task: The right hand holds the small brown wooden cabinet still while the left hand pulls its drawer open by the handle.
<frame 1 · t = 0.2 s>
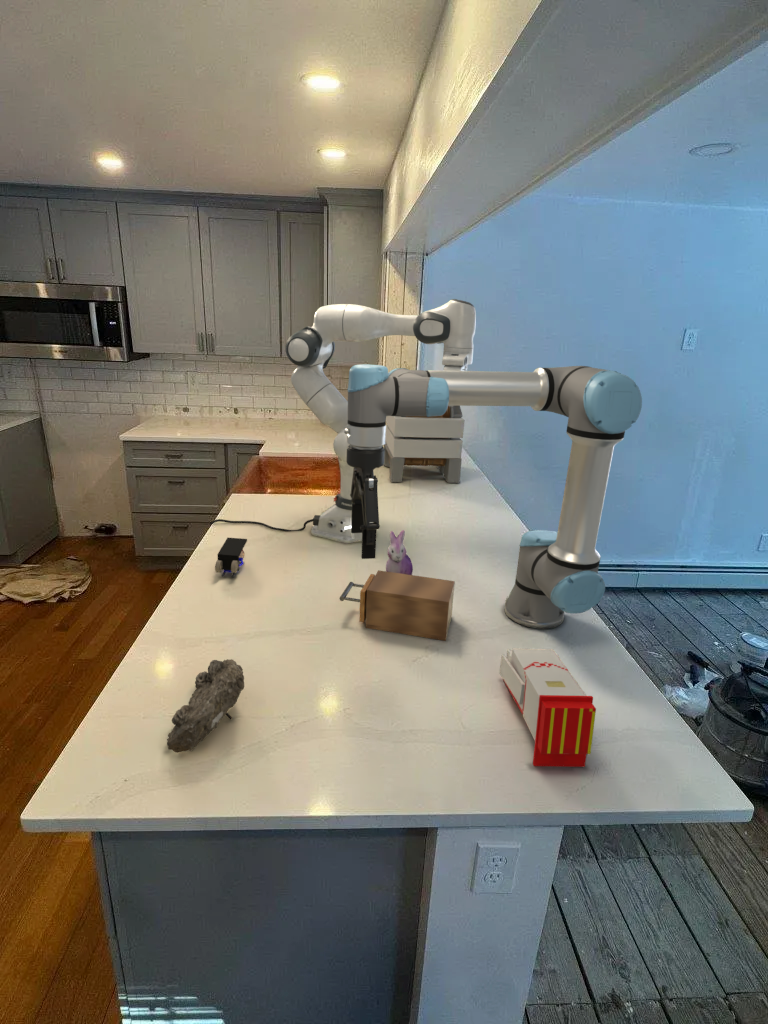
left hand: (453, 403, 174), 48 cm above the counter, tool pointing down, fingers open, 8 cm apart
right hand: (362, 544, 119), 28 cm above the counter, tool pointing down, fingers open, 13 cm apart
drawer: (390, 601, 143), point 5 cm above the counter, slide at 0.6 cm
fossil: (212, 717, 108), on the counter
toy: (536, 715, 113), on the counter
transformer: (419, 473, 275), on the counter
cabinet: (409, 622, 144), on the counter
figurine: (398, 579, 166), on the counter
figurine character: (232, 569, 168), on the counter
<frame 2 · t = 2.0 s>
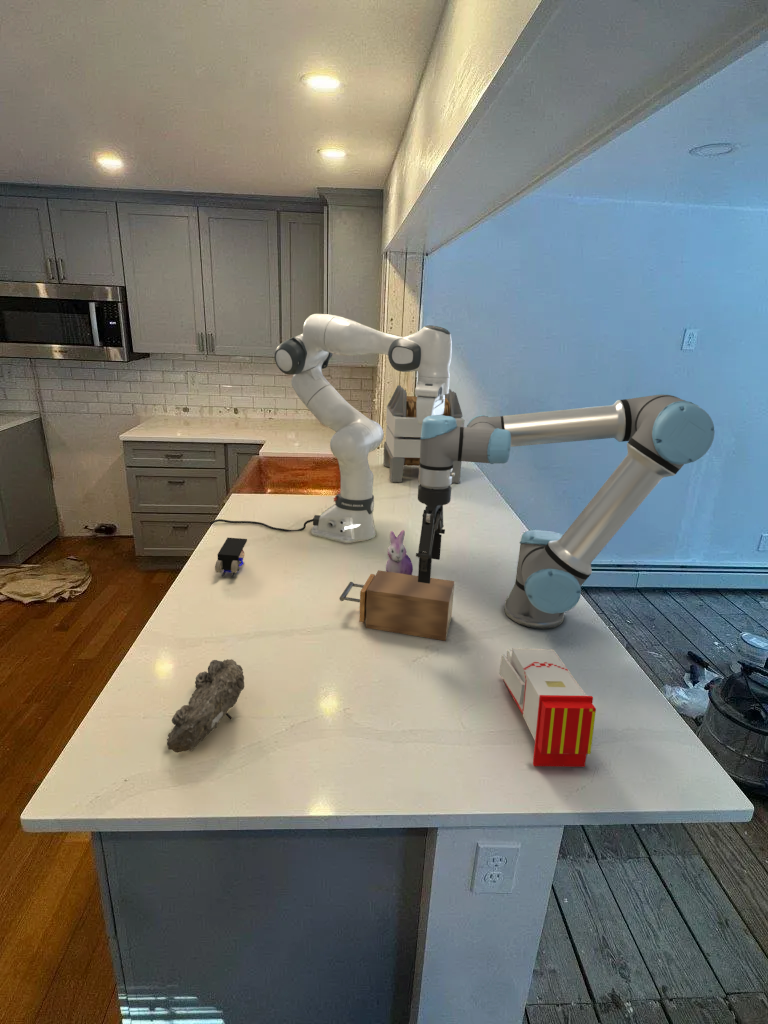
left hand: (429, 435, 164), 41 cm above the counter, tool pointing down, fingers open, 8 cm apart
right hand: (429, 569, 135), 16 cm above the counter, tool pointing down, fingers open, 13 cm apart
nothing on the counter moved.
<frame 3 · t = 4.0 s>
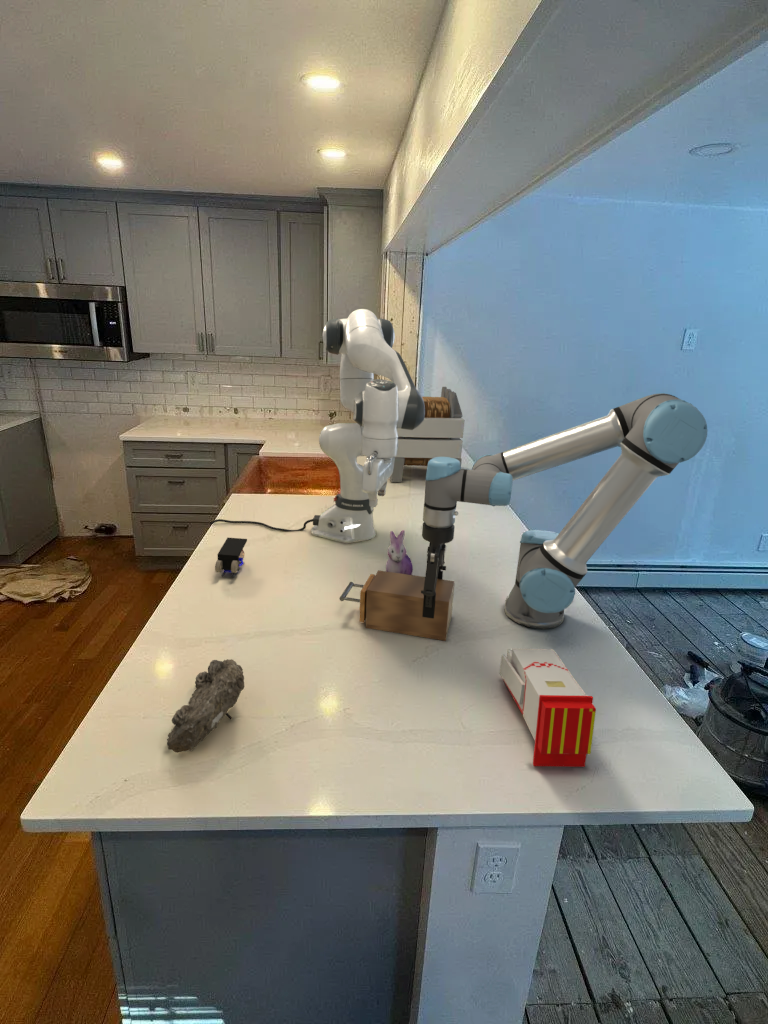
left hand: (377, 500, 145), 28 cm above the counter, tool pointing down, fingers open, 8 cm apart
right hand: (432, 605, 141), 6 cm above the counter, tool pointing down, fingers closed on cabinet, 11 cm apart
cabinet: (409, 622, 144), on the counter, touching right hand
everything else where it was.
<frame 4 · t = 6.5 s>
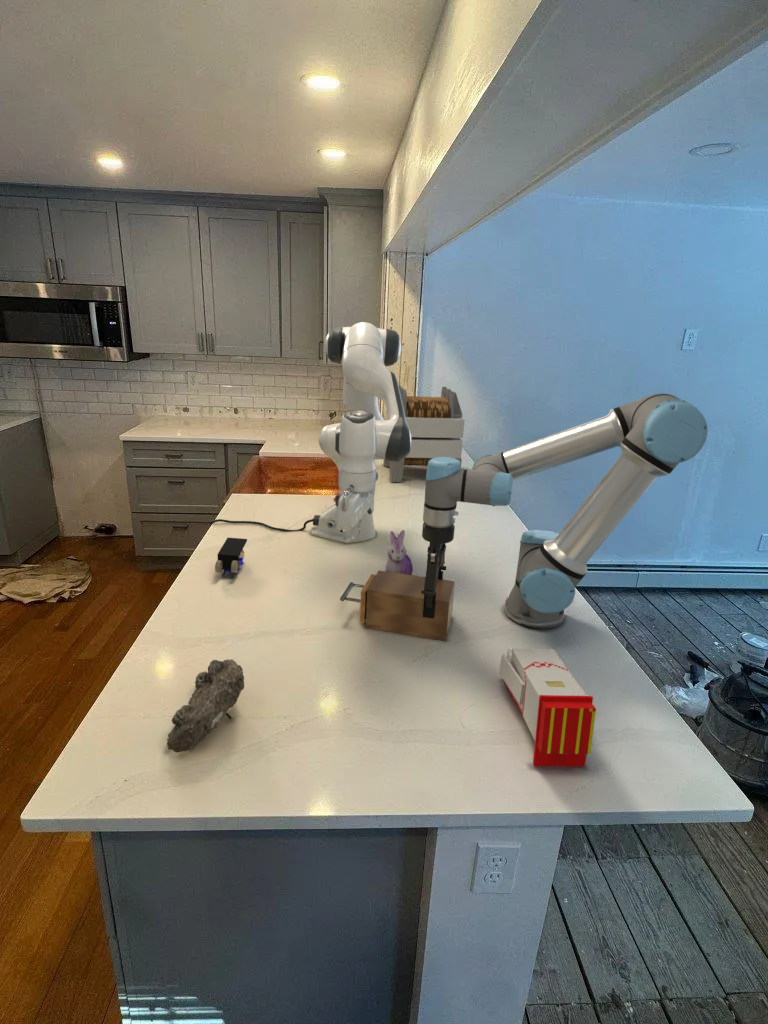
left hand: (355, 534, 139), 22 cm above the counter, tool pointing down, fingers closed
right hand: (432, 605, 141), 6 cm above the counter, tool pointing down, fingers closed on cabinet, 11 cm apart
cabinet: (409, 622, 144), on the counter, touching right hand
everything else where it was.
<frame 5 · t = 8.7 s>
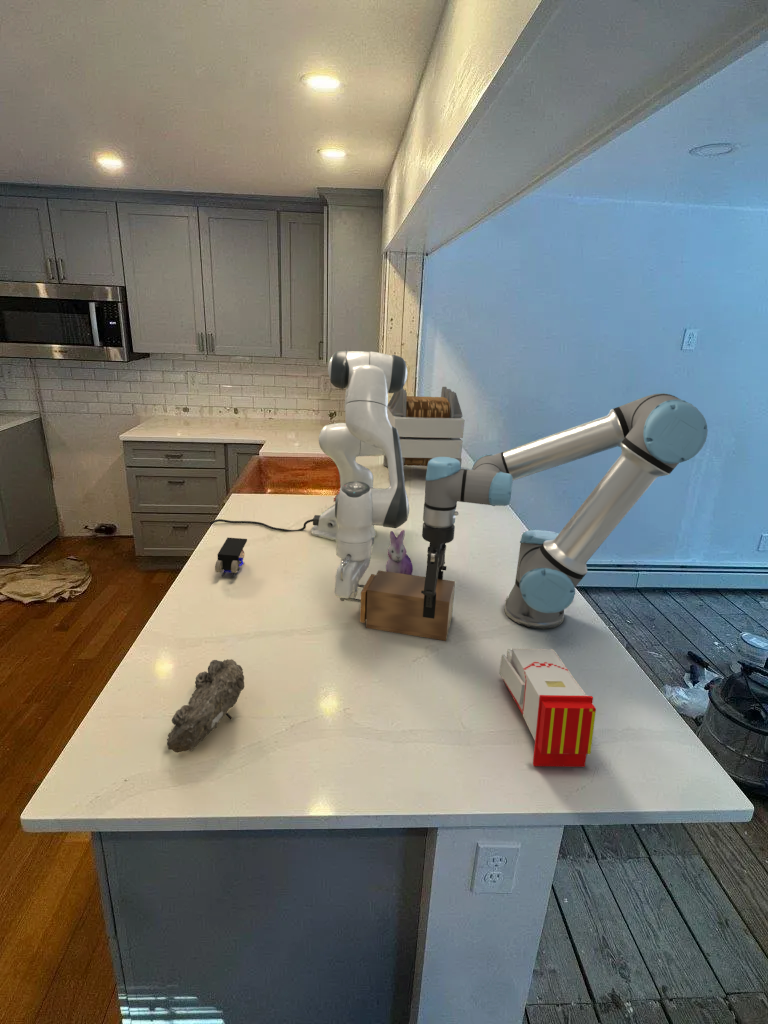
left hand: (352, 597, 145), 5 cm above the counter, tool pointing down, fingers closed, pressing on drawer
right hand: (432, 605, 141), 6 cm above the counter, tool pointing down, fingers closed on cabinet, 11 cm apart
drawer: (390, 601, 143), point 5 cm above the counter, slide at 0.5 cm, touching left hand
cabinet: (409, 622, 144), on the counter, touching right hand
everything else where it was.
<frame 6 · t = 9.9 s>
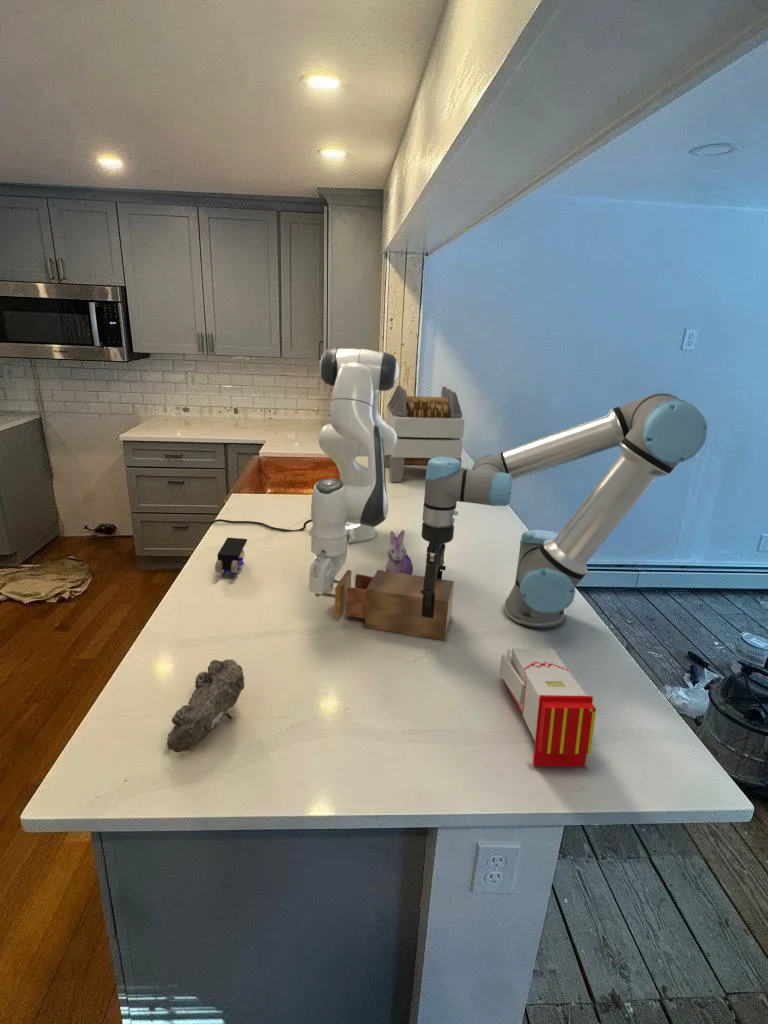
left hand: (328, 593, 146), 5 cm above the counter, tool pointing down, fingers closed, pressing on drawer
right hand: (431, 604, 141), 6 cm above the counter, tool pointing down, fingers closed on cabinet, 11 cm apart
drawer: (365, 596, 144), point 5 cm above the counter, slide at 6.8 cm, touching left hand
cabinet: (408, 622, 144), on the counter, touching right hand
everything else where it was.
when the right hand's fingers open (6 cm above the counter, at t = 11.9 s): cabinet stays where it is, on the counter.
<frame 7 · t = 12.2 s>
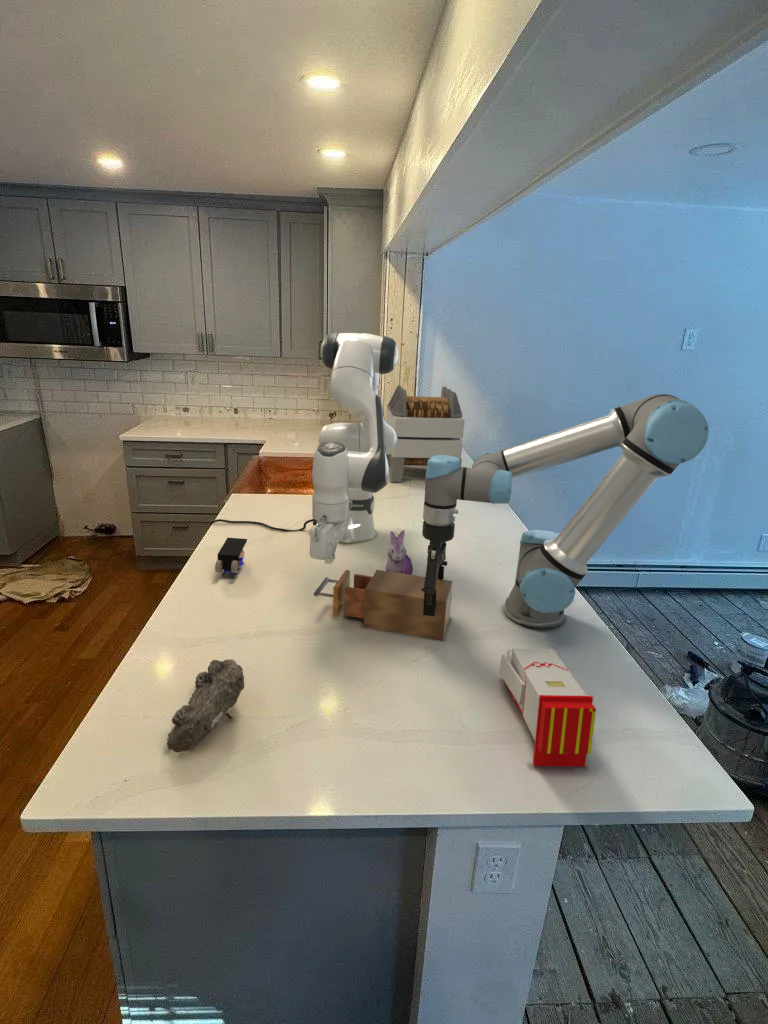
left hand: (329, 561, 143), 14 cm above the counter, tool pointing down, fingers closed
right hand: (433, 601, 140), 7 cm above the counter, tool pointing down, fingers open, 13 cm apart
drawer: (363, 596, 145), point 5 cm above the counter, slide at 7.0 cm
cabinet: (407, 622, 144), on the counter
everything else where it was.
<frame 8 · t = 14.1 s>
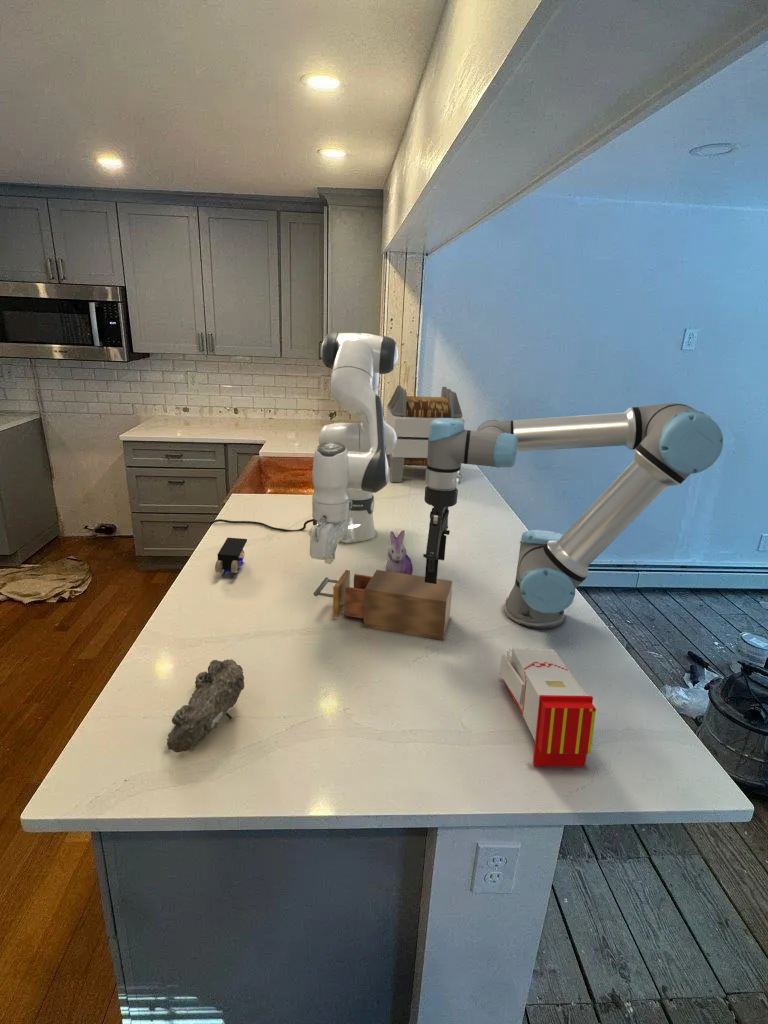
left hand: (329, 561, 143), 14 cm above the counter, tool pointing down, fingers closed
right hand: (434, 570, 137), 15 cm above the counter, tool pointing down, fingers open, 13 cm apart
nothing on the counter moved.
at the end: drawer slide at 7.0 cm; cabinet tilted 0°; cabinet never tilted more than 3° during the clip; cabinet moved 0.6 cm from its start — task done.
